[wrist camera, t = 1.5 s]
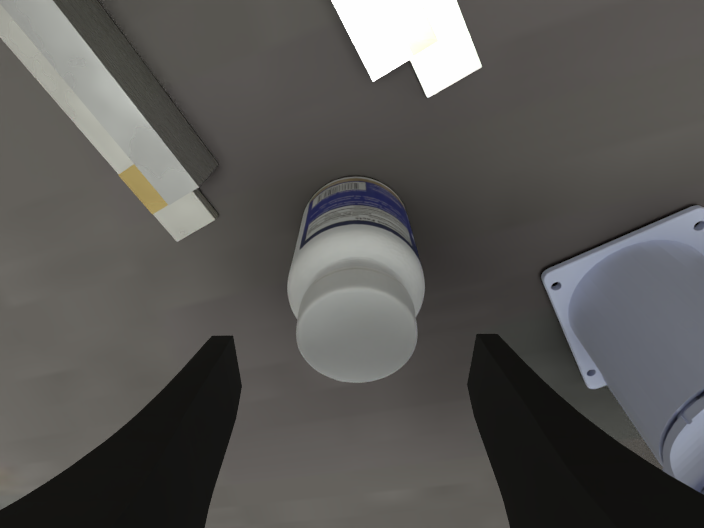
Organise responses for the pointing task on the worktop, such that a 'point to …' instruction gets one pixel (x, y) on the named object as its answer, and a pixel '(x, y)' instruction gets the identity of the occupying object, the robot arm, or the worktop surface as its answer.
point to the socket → (160, 112)
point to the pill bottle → (356, 282)
